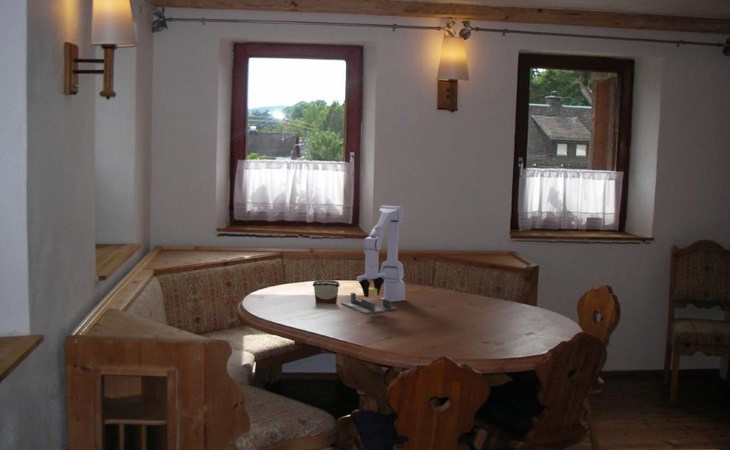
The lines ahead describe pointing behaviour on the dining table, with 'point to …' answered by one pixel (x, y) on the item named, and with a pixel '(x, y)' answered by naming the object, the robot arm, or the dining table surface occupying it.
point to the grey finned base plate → (387, 305)
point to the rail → (362, 305)
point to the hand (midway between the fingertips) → (371, 295)
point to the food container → (326, 291)
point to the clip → (372, 291)
